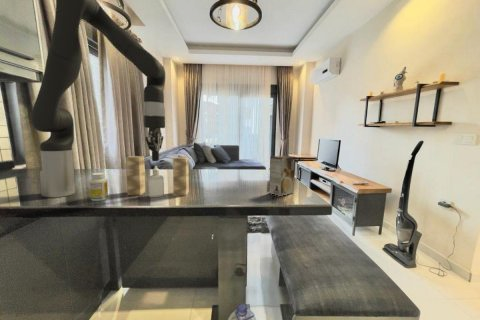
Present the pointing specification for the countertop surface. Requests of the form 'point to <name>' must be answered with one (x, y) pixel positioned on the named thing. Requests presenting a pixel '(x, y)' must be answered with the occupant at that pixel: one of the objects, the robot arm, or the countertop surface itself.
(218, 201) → the countertop surface
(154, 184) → the eye dropper bottle
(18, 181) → the countertop surface
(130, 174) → the post left
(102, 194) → the supplement bottle
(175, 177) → the post right
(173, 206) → the countertop surface
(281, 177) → the coffee box
